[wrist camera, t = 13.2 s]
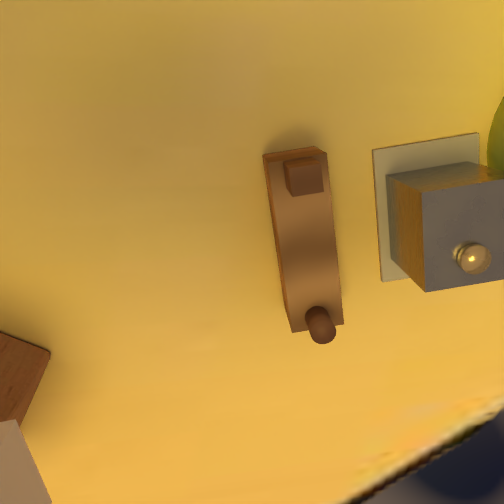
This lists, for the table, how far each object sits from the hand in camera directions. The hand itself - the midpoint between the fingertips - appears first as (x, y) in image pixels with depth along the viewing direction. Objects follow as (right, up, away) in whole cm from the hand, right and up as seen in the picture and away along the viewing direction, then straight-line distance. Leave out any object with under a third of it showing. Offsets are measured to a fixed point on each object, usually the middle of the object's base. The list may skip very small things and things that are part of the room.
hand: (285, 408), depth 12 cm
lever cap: (+13, +7, +26) cm, 30 cm away
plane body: (+3, +6, +26) cm, 27 cm away
